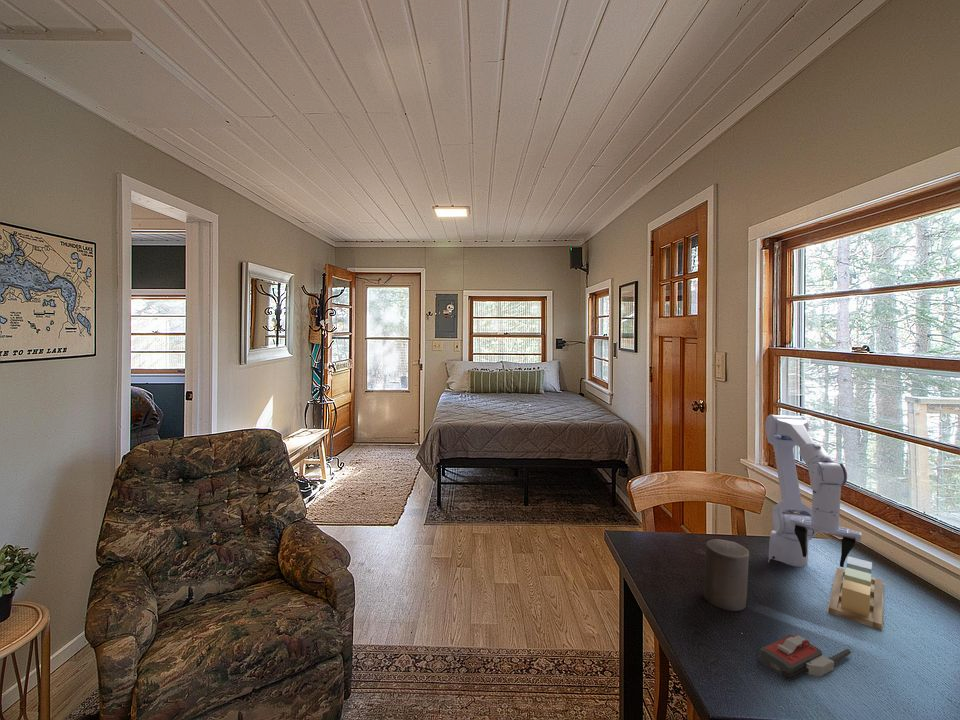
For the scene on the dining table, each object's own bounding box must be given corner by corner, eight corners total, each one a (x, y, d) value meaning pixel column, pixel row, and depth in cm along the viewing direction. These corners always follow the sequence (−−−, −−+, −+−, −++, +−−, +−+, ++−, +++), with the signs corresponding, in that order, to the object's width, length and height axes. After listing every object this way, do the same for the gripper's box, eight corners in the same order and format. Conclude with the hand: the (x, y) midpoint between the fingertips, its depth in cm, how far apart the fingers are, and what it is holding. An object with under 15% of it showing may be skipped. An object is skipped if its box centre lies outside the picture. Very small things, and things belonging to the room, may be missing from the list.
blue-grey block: (845, 585, 121) (846, 562, 121) (846, 577, 125) (847, 556, 124) (870, 592, 118) (871, 569, 117) (870, 584, 121) (872, 562, 121)
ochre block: (842, 602, 113) (844, 579, 112) (869, 611, 109) (870, 586, 109) (840, 611, 109) (842, 587, 109) (868, 620, 106) (869, 595, 105)
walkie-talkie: (798, 692, 86) (855, 660, 95) (799, 670, 86) (856, 640, 95) (752, 662, 94) (809, 635, 103) (753, 642, 94) (810, 616, 103)
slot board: (826, 617, 109) (827, 607, 109) (835, 576, 128) (836, 567, 128) (882, 636, 102) (883, 624, 102) (883, 590, 121) (883, 580, 121)
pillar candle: (698, 600, 116) (700, 542, 115) (710, 584, 123) (712, 530, 122) (740, 616, 109) (744, 556, 108) (751, 599, 116) (754, 542, 115)
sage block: (843, 597, 115) (844, 574, 115) (844, 589, 119) (845, 567, 118) (869, 605, 112) (870, 581, 111) (870, 597, 115) (871, 573, 115)
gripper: (789, 505, 119) (786, 556, 120) (861, 521, 109) (858, 576, 110) (793, 498, 124) (791, 547, 125) (862, 512, 115) (859, 565, 115)
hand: (822, 560), depth 118 cm, fingers open, 7 cm apart
